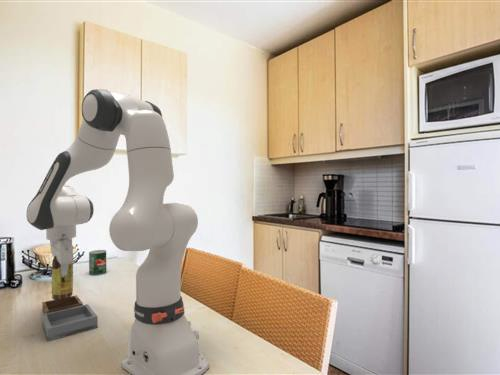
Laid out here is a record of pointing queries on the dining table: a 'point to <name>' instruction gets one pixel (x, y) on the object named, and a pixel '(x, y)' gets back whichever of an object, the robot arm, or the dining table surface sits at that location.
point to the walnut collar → (60, 304)
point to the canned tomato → (97, 262)
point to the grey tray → (69, 321)
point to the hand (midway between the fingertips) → (62, 272)
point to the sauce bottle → (61, 281)
